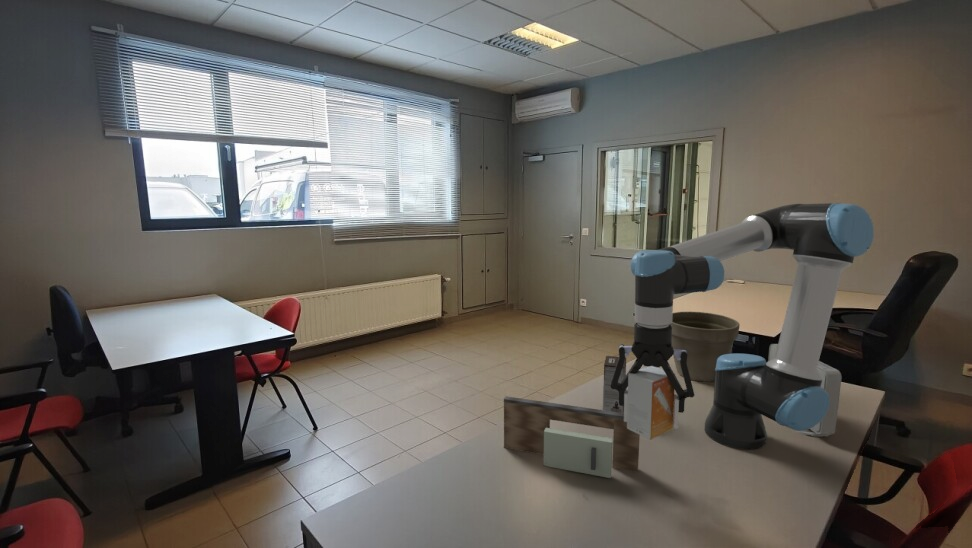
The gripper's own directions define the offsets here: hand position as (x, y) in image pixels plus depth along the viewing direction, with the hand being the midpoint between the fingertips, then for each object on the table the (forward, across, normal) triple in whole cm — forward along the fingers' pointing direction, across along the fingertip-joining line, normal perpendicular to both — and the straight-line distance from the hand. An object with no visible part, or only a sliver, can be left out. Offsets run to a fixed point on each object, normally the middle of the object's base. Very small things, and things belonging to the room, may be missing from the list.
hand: (650, 422), depth 98 cm
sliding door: (+16, +16, -2) cm, 23 cm away
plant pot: (+19, -18, -80) cm, 84 cm away
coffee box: (+17, +10, -40) cm, 45 cm away
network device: (+19, -42, -50) cm, 68 cm away
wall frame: (+16, +19, -8) cm, 27 cm away
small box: (+2, 0, 0) cm, 2 cm away
